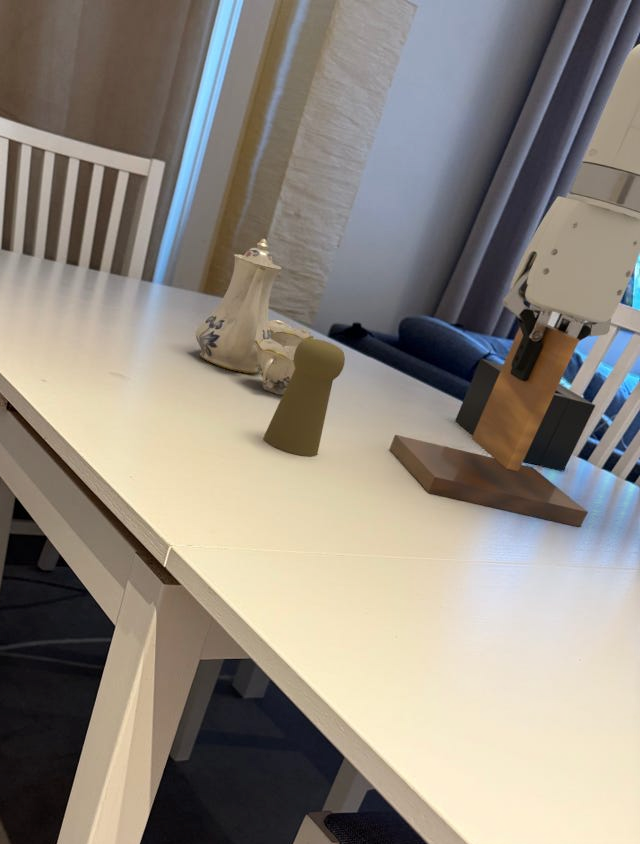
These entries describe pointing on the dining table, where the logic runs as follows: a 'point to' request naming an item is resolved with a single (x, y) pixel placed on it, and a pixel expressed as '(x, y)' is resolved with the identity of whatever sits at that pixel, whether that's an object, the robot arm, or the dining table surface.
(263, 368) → the chinaware
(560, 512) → the breadboard
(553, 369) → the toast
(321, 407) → the cork
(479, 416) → the grooved black box
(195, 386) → the dining table surface
